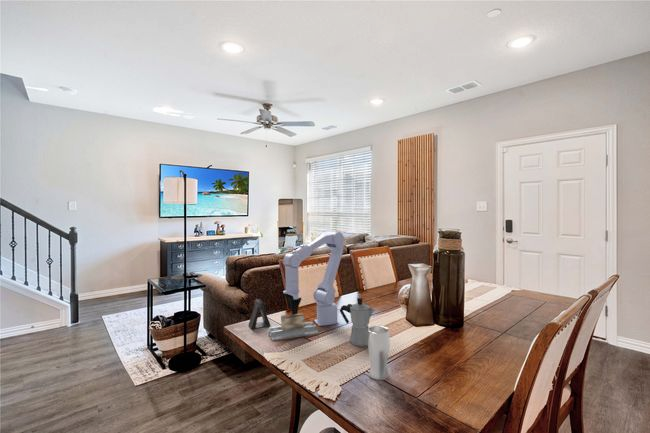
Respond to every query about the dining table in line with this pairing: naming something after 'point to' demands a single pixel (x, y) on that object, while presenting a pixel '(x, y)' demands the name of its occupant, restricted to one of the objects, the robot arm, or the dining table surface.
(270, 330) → the track
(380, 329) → the beer glass
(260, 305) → the phone stand
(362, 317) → the coffee maker
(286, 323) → the door panel
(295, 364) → the dining table surface
